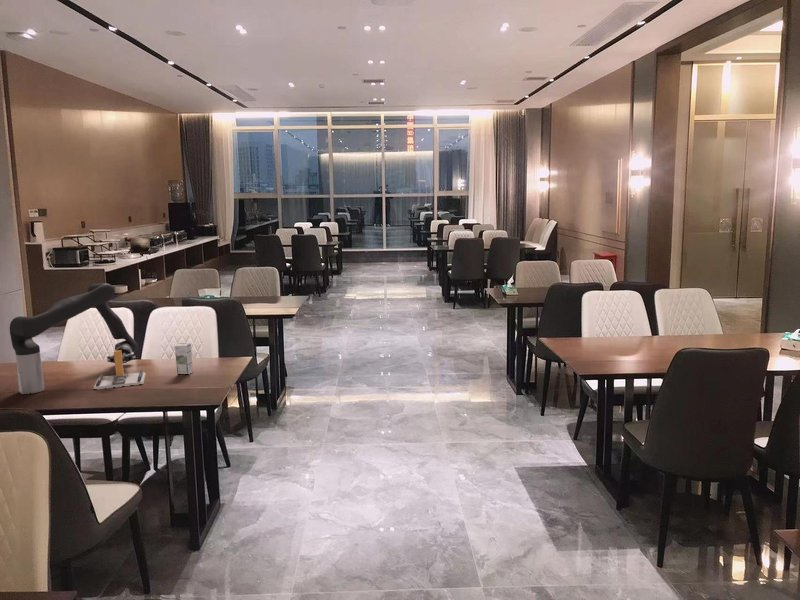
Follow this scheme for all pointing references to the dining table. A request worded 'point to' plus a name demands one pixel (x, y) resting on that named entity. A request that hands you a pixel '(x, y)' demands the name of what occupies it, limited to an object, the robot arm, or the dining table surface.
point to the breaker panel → (120, 380)
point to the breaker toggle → (119, 364)
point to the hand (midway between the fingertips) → (119, 361)
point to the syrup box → (183, 358)
